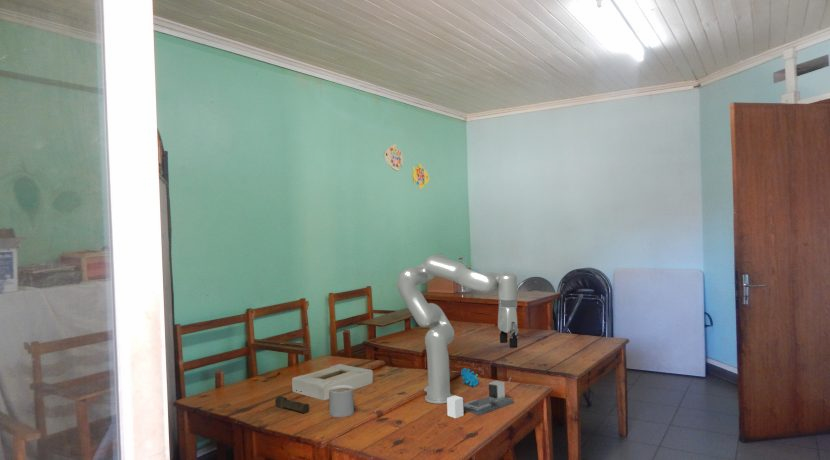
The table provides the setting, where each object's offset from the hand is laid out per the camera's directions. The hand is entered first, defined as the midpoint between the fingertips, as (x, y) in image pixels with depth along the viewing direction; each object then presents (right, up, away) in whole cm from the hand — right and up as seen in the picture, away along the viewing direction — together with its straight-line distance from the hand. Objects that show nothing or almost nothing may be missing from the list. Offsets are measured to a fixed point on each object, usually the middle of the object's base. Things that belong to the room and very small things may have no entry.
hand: (508, 345), depth 215 cm
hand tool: (-92, -29, +5) cm, 96 cm away
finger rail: (-8, -26, +2) cm, 27 cm away
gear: (-12, -26, +32) cm, 44 cm away
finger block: (-23, -26, -8) cm, 36 cm away
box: (-78, -29, +36) cm, 91 cm away
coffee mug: (-68, -28, +1) cm, 73 cm away
